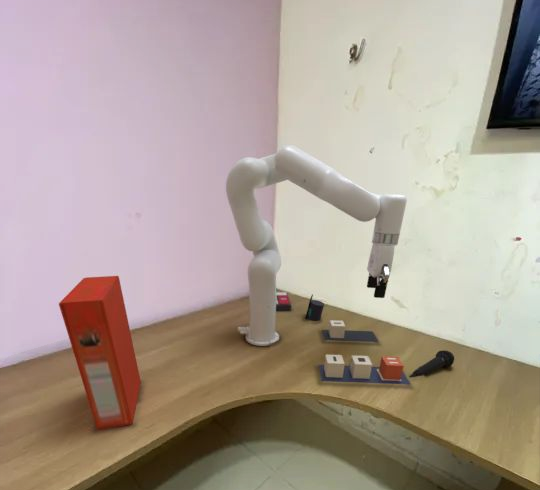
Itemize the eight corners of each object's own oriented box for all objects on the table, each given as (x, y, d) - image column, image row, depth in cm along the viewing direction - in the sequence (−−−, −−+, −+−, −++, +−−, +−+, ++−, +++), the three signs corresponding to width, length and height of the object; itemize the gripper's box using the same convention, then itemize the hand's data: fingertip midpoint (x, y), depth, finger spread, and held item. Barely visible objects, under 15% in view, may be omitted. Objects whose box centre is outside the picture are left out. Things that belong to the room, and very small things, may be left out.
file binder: (96, 429, 73) (58, 302, 59) (110, 386, 88) (83, 277, 74) (132, 424, 75) (104, 299, 61) (141, 383, 90) (120, 275, 76)
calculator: (267, 303, 139) (264, 291, 152) (266, 312, 141) (264, 299, 154) (291, 303, 140) (287, 291, 153) (290, 312, 142) (286, 299, 155)
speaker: (300, 319, 133) (304, 296, 128) (306, 315, 137) (311, 294, 132) (315, 325, 129) (320, 302, 124) (322, 321, 133) (327, 299, 129)
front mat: (321, 383, 91) (321, 380, 91) (318, 367, 99) (318, 364, 99) (410, 387, 91) (410, 384, 90) (399, 370, 99) (400, 367, 98)
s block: (383, 379, 92) (386, 364, 90) (378, 370, 97) (381, 356, 94) (400, 379, 92) (404, 365, 90) (394, 370, 97) (398, 356, 94)
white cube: (325, 377, 93) (327, 362, 90) (323, 368, 97) (325, 354, 95) (342, 377, 92) (344, 363, 90) (339, 368, 97) (341, 354, 95)
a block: (330, 337, 116) (331, 325, 114) (328, 332, 120) (329, 320, 118) (343, 338, 116) (345, 326, 114) (341, 332, 120) (343, 320, 118)
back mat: (324, 342, 115) (324, 340, 114) (321, 331, 123) (321, 329, 122) (378, 344, 114) (378, 342, 114) (372, 333, 122) (372, 331, 122)
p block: (352, 378, 92) (355, 363, 90) (349, 369, 97) (351, 355, 95) (369, 378, 92) (372, 364, 90) (365, 369, 97) (368, 355, 95)
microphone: (411, 390, 94) (452, 367, 102) (419, 379, 90) (461, 355, 98) (398, 377, 97) (439, 355, 105) (404, 366, 93) (447, 344, 101)
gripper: (366, 233, 101) (358, 283, 109) (380, 243, 86) (369, 301, 93) (389, 234, 101) (379, 284, 109) (407, 244, 86) (394, 302, 93)
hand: (375, 292), depth 101 cm, fingers open, 9 cm apart
